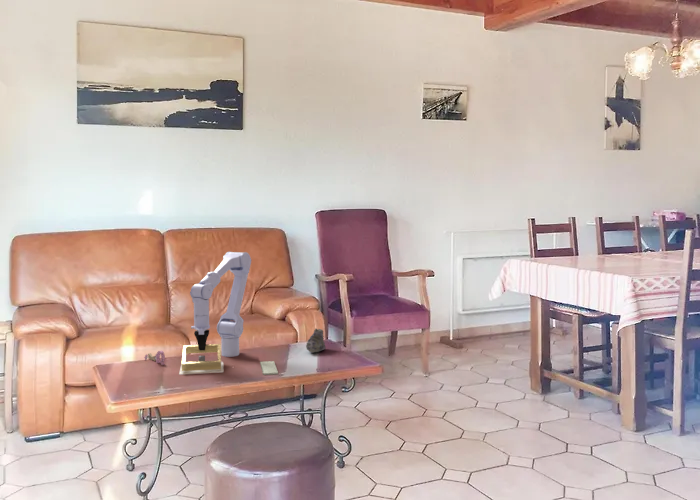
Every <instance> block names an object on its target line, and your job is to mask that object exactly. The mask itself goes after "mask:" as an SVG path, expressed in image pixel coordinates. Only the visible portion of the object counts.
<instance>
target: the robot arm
mask: <svg viewBox="0 0 700 500" xmlns="http://www.w3.org/2000/svg"><path fill="white" fill-rule="evenodd" d="M251 264H252V257H251V255H250V253H248V252H247V251H243V252H239V251H234V252H233V251H227V252H226V253H225V254H224V255H223V257H222V261H221V262H220V264H219V265H218V266H217V267H216V268H215V270H214V271H210V272H209V271H208V272H207V273H206V275H205V276H204V277H203V278H202V279H201V280H200V281H199V282H198V283H195V284H194V285H192V286H191V288H190V292H189V295H190V296H191V297H190V298H191V301H192V303H193V321H194V322H193V325H191V326H190V329H194V334H193V335H194V337H195V338H196V341H197V345H198V347H199V350H205V347H206V344H207V340H208V337H209V335H210V328H211V325H210V301H209V300H210V298H211V297H212V294H213V292H214V289H215V288H216V287H217V286H218V285H219V284H220V283H221V281H222V280H221V278H222V277H223V276H224V275H225V274H227V272H228V271H230V273H232V274H233V275H234V277H233V282H232V286H231V291H230V295H229V299H228V304H227V309H226V312H225V313H223V314H221V315H220V317H219V318H220V319H219V321H218V323H217V325H216V332H217V333H218V335H219V337H220V338H221V340H220V341H221V343H220V344H221V357H226V358H227V357H228V358H231V357H238V356H239V355H240V338H241V336H242V334H243V332H244V322H245V320H244V319H243V318H242V316H241V315H240V313H241V308H242V304H243V299H244V294H245V289H246V287H247V281H248V277H249V273H250V269H251Z"/></svg>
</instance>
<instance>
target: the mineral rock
mask: <svg viewBox="0 0 700 500" xmlns="http://www.w3.org/2000/svg"><path fill="white" fill-rule="evenodd" d="M324 337H325V335H324V330H323V328H315V329H314V331H313V333H312V334H311V335H310V336H309V338H308V339H307V342H306V345H305V347H306V350H307V351H308V352H309V353H319V352H321V351H323V350H326V344H325V340H324V339H325V338H324Z"/></svg>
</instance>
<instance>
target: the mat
mask: <svg viewBox="0 0 700 500" xmlns="http://www.w3.org/2000/svg"><path fill="white" fill-rule="evenodd" d="M259 364H260V368H261V372H262V376H266V375H278V374H279V371H278V369H277V365H276V363H275V360H272V361H270V360H269V361H266V360H265V361H259Z"/></svg>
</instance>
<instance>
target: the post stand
mask: <svg viewBox="0 0 700 500" xmlns="http://www.w3.org/2000/svg"><path fill="white" fill-rule="evenodd" d="M197 358H198V361H206V356H205V355H198V357H197ZM217 373H218V374H219V373H224V361H221V369H213V370H193V371H182V363H181V364H180V369H179V373H178V375H195V374H201V375H202V374H217Z"/></svg>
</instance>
